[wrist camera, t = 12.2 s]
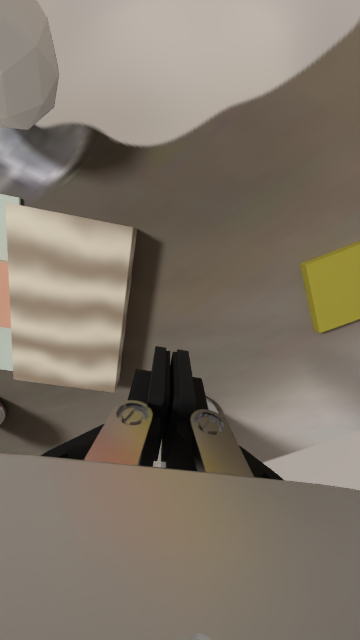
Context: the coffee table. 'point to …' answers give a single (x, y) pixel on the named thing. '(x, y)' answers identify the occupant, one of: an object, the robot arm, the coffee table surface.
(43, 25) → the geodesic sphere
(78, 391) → the coffee table surface
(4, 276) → the coaster
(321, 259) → the flat olive board
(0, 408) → the soda can
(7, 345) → the mat
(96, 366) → the platform
